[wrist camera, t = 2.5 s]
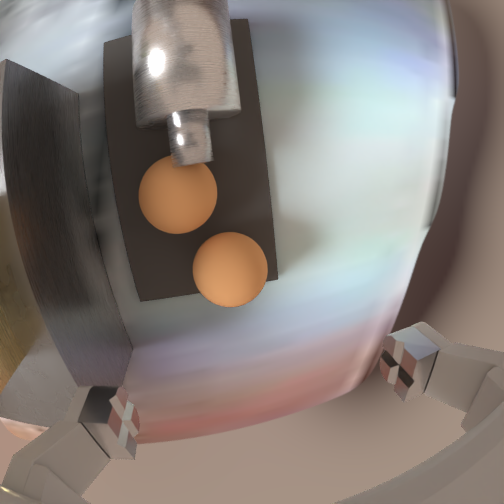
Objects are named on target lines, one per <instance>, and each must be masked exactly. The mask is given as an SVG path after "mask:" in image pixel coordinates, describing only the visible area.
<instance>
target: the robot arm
mask: <svg viewBox="0 0 504 504" xmlns="http://www.w3.org/2000/svg"><path fill="white" fill-rule="evenodd" d="M383 347H384V349H385V351H384V353H383V354H382V356H381V358H380V370H381V373H382V375H383V377H384V379H385V380H386V381H387V382H389V383H391V384H394V391H395V392H396V393H397V395H398V396H399V397H400V398H401V399H402V401H403V402H406V401H409V400H411V399H413V398H415V397H417V396H419V395H421V394H423V393H424V394H425V395H427V396H429V397H431V398H434V399H436V400H438V401H441V402H443V403H445V404H448V405H450V406H452V407H455V408H457V409H460V410H462V411H464V412H467V414H466V415H465V417H464V419H463V421H462V423H461V427H462V428H463V429H464V430H465V431H466V432H467V433H465V434H464V435H463V436H461V437H460V438H459V439H457V440H456V441H455V442H453V443H452V444H450V445H449V446H447V447H446V448H444V449H443V450H441V451H440V452H439V453H437V454H435V455H434V456H432V457H430V458H429V459H427V460H426V461H424V462H422V463H421V464H419V465H417V466H415V467H413V468H412V469H410V470H408V471H406V472H404V473H402V474H401V475H399V476H397V477H395V478H393V479H391V480H389V481H387V482H384V483H382V484H380V485H378V486H376V487H374V488H371V489H369V490H367V491H364V492H362V493H360V494H357V495H354V496H352V497H349V498H346V499H344V500H341V501H338V502H335V503H332V504H504V352H500V351H494V350H490V349H484V348H480V347H475V346H470V345H465V344H461V343H456V342H455V343H453V344H452V343H451V342H450V341H448V340H447V339H445V338H444V337H443V336H442V335H441V334H439V333H438V332H437V331H435V330H434V329H433V328H432V327H430V326H429V325H427V324H426V323H425V322H419V323H417V324H414V325H412V326H410V327H408V328H405V329H403V330H400V331H397V332H395V333H392V334H389V335H386V337H385V338H384V340H383ZM127 399H128V393H127V392H126V390H125V388H124V387H121V386H80V387H78V388H77V390H76V392H75V394H74V397H73V399H72V401H71V403H70V406H69V408H68V410H67V412H66V415H65V417H64V420H63V421H58V422H57V423H55V424H54V425H53V426H51V427H50V428H49V429H48V430H46V431H45V432H44V433H42V434H41V435H40V436H38V437H37V438H36V439H34V440H33V441H32V442H30V443H29V444H28V445H26V446H25V447H24V448H22V449H21V450H20V451H18V452H17V453H16V454H14V455H13V457H12V459H11V462H10V464H9V467H8V469H7V472H6V475H5V477H4V480H3V483H2V485H1V484H0V504H90V503H89V502H88V501H86V500H85V499H84V498H82V497H81V495H82V494H83V493H84V492H85V491H86V489H87V488H88V487H89V486H90V485H91V483H92V482H93V481H94V480H95V479H96V477H97V476H98V475H99V474H100V472H101V471H102V470H103V469H104V467H105V466H106V465H107V464H108V463H109V461H110V459H129V460H133V459H134V460H135V454H136V447H137V442H136V441H135V440H134V437H135V436H136V435H137V434H138V433H139V427H140V423H139V416H138V413H137V410H136V408H135V406H134V405H133V404H132V403H130V402H129V401H127Z"/></svg>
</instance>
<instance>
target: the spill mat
mask: <svg viewBox="0 0 504 504" xmlns="http://www.w3.org/2000/svg"><path fill="white" fill-rule="evenodd" d="M230 24H231V32H232V40H233V47H234V55H235V63H236V71H237V79H238V87H239V95H240V104H241V112H240V113H239V114H237V115H235V116H232V117H229V118H226V119H222V120H218V121H214V122H209V125H210V134H211V142H212V150H213V158H214V161H212V162H206V163H204V164H205V165H206V166H207V167H208V168H209V170H210V171H211V173H212V174H213V176H214V179H215V181H216V185H217V200H216V205H215V208H214V210H213V212H212V214H211V215H210V217H209V218H208V219H207V221H206V222H205V223H204V224H202V225H201V226H200V227H198V228H197V229H195V230H193V231H190V232H187V233H182V234H172V233H167V232H164V231H161V230H159V229H157V228H156V227H154V226H153V225H152V224H151V223H150V222H149V221H148V220H147V219H146V217H145V216H144V214H143V212H142V210H141V208H140V204H139V187H140V183H141V180H142V178H143V176H144V174H145V173H146V171H147V170H148V169H149V168H150V167H151V166H152V165H153V164H154V163H155V162H157V161H158V160H160V159H162V158H164V157H167V156H171V151H170V143H169V135H168V129H159V130H143V129H139V128H137V126H136V116H135V104H134V90H133V69H132V35H129V36H125V37H122V38H118V39H115V40H111V41H108V42H105V43H104V57H103V74H104V103H105V119H106V130H107V141H108V150H109V158H110V165H111V173H112V179H113V186H114V192H115V197H116V203H117V208H118V214H119V219H120V223H121V228H122V233H123V237H124V242H125V246H126V250H127V254H128V258H129V262H130V266H131V270H132V274H133V277H134V281H135V285H136V288H137V292H138V295H139V298H140V302H142V301H149V300H156V299H163V298H169V297H176V296H183V295H189V294H196V293H201V292H200V291H199V290H198V288H197V286H196V284H195V281H194V278H193V261H194V258H195V255H196V253H197V251H198V249H199V248H200V247H201V245H202V244H203V243H204V242H205V241H206V240H208V239H209V238H211V237H212V236H214V235H217V234H220V233H224V232H235V233H240V234H243V235H246V236H248V237H249V238H251V239H252V240H254V241H255V242H256V243H257V244H258V245H259V246H260V248H261V249H262V251H263V253H264V255H265V257H266V260H267V268H268V273H267V279H266V282H267V281H272V280H278V271H277V260H276V249H275V238H274V228H273V218H272V208H271V198H270V189H269V179H268V170H267V161H266V153H265V144H264V136H263V127H262V119H261V111H260V103H259V95H258V88H257V80H256V73H255V66H254V59H253V51H252V45H251V38H250V31H249V24H248V19H233V20H230Z"/></svg>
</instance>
